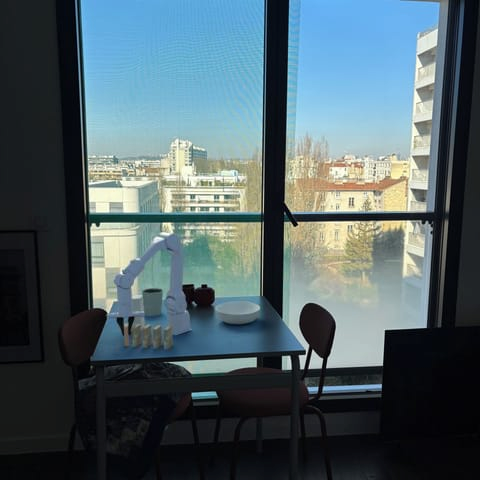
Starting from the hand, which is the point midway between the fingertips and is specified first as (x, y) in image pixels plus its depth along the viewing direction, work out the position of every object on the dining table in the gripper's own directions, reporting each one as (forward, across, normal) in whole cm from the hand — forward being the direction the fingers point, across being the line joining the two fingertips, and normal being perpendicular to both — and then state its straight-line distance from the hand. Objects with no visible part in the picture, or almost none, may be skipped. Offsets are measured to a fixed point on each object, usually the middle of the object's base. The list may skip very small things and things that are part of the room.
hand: (126, 334), depth 189 cm
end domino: (+4, 0, 0) cm, 4 cm away
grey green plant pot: (+4, -9, -41) cm, 42 cm away
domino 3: (+4, -13, +5) cm, 14 cm away
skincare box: (+4, -2, -19) cm, 20 cm away
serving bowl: (+4, -49, -21) cm, 53 cm away
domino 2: (+4, -8, +3) cm, 10 cm away
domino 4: (+4, -17, +6) cm, 18 cm away
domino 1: (+4, -4, +2) cm, 6 cm away
